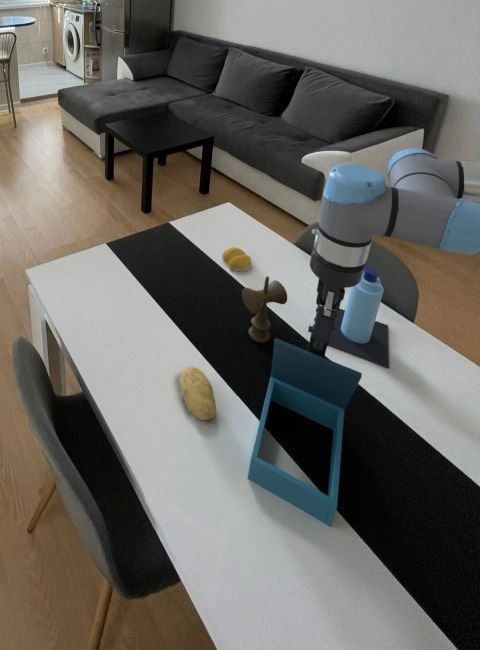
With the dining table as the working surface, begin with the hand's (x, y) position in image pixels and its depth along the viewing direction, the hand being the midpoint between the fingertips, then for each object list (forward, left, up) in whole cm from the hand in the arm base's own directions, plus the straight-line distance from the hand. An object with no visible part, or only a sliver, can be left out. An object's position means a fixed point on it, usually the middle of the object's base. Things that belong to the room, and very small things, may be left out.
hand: (315, 355), depth 79 cm
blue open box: (0, +4, -24) cm, 25 cm away
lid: (0, -1, -7) cm, 7 cm away
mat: (-9, -35, -24) cm, 44 cm away
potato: (+20, +3, -25) cm, 32 cm away
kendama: (+12, -22, -25) cm, 35 cm away
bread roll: (+24, -47, -25) cm, 58 cm away
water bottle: (-9, -35, -24) cm, 43 cm away
